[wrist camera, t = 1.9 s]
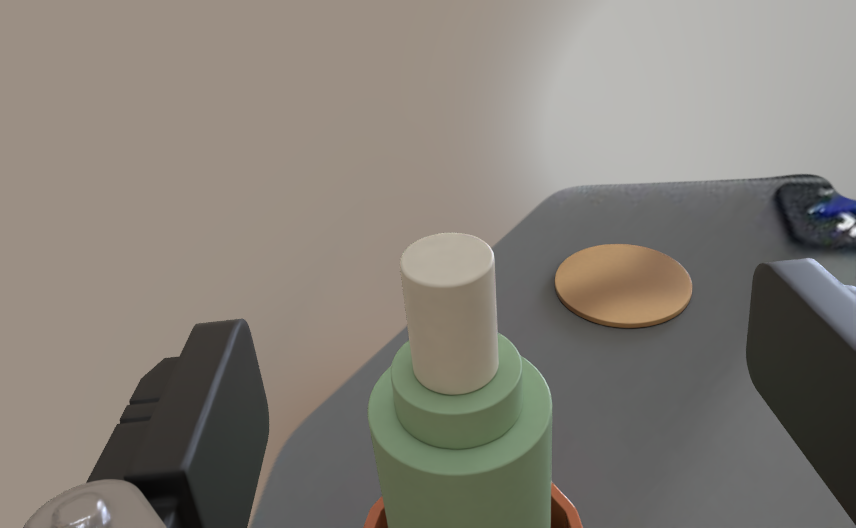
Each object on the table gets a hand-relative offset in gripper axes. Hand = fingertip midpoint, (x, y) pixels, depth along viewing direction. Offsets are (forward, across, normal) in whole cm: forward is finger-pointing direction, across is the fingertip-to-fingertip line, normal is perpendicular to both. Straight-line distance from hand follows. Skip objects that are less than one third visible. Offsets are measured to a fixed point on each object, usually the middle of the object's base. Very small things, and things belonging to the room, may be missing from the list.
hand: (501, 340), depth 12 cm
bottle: (+12, +1, +22) cm, 25 cm away
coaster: (+35, -12, +19) cm, 41 cm away
